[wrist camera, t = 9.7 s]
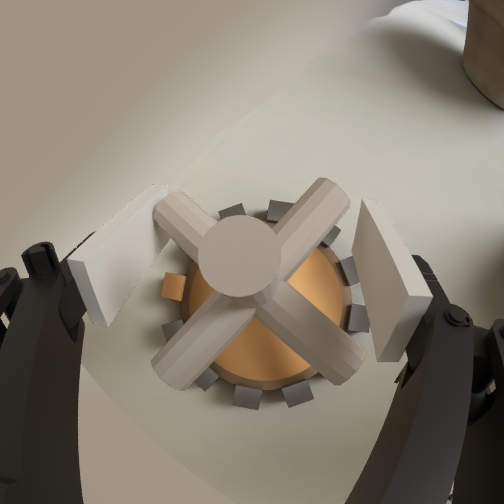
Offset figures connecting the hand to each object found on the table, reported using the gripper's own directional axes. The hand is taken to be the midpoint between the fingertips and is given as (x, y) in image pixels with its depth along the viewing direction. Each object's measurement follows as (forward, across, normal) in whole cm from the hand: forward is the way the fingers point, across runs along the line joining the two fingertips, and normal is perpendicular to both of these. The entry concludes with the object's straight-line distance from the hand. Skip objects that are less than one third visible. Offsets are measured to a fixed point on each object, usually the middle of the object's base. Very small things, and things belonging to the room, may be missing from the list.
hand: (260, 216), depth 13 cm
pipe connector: (+1, 0, -5) cm, 5 cm away
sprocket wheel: (+9, 0, -14) cm, 16 cm away
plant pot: (+40, +41, +17) cm, 60 cm away
